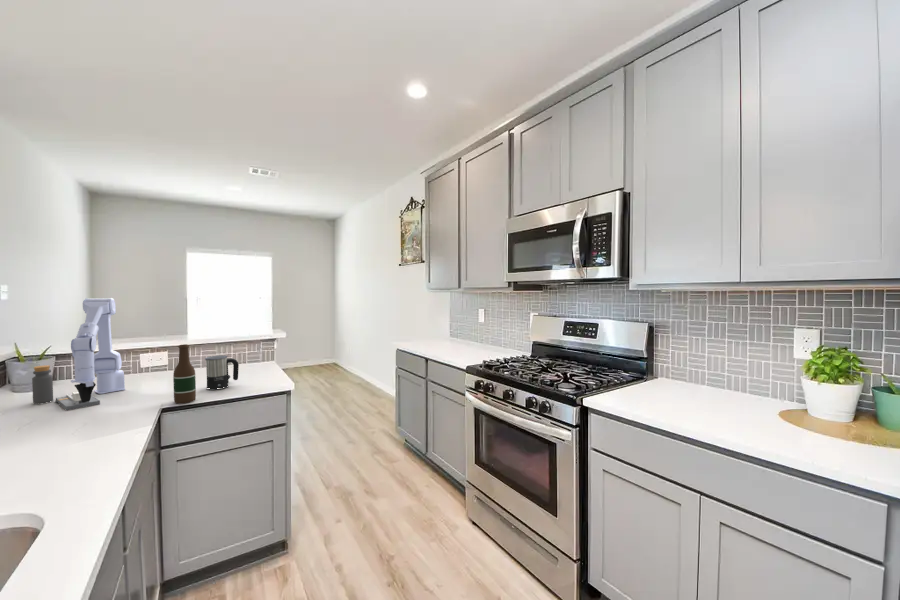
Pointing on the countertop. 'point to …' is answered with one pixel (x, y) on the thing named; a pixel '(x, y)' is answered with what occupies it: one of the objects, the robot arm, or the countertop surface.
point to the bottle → (42, 385)
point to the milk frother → (220, 371)
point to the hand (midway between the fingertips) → (85, 401)
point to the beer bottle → (184, 378)
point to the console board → (75, 402)
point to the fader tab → (76, 396)
